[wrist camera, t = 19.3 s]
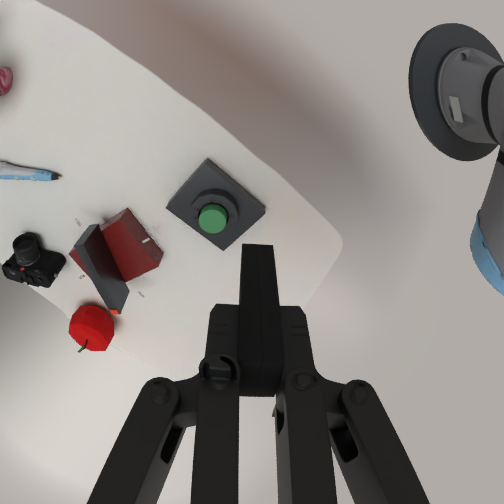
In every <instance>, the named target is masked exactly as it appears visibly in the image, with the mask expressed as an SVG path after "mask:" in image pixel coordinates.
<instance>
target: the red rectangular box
mask: <svg viewBox="0 0 504 504" xmlns="http://www.w3.org/2000/svg"><path fill="white" fill-rule="evenodd" d="M75 221H76V222H77V223H78V225H79V226H81V224H80V222H79V221H78V220H77V219H75ZM100 229H101V231H102V234H103V236H104V238H105V240H106V243H107V245H108V247H109V249H110V252H111V254H112V256H113V258H114V260H115V262H116V265H117V267H118V269H119V271H120V273H121V275H122V277H123V279H124V281H125V282H127V281H129V280H131V279H133V278H136V277H138V276H140V275H142V274H144V273H146V272H148V271H150V270H152V269H155V268H157V267H159V264H160V261H161V259H162V256H163V252H162V251H161V250H160V249H159V247H158V246H157V245H156V244H155V242H154V241H153V240H152V239H151V237H150V236H149V235H148V234H147V232H146V231H145V230H144V228H143V227H142V226H141V225H140V223H139V222H138V221H137V219H136V218H135V217H134V215H133V214H132V213H131V212H130V210H129V209H128V208H126V209H125V210H123V211H122V212H120V213H119V214H117V215H116V216H114V217H113V218H111V219H110V220H108V221H107V222H105V223H104V224H102V225H101V226H100ZM69 255H70V256H71V257H72V259H73V260H74V261H75V262H76V263H77V264H78V265H79V266H80V267H81V269H82V270H83V271H84V272H85V273H86V274H87V275H88V276H89V274H88V272H87V270H86V268H85V267H84V265H83V263H82V261H81V259H80V257H79V255H78V253H77V251H76V249H75V247H73V249H72V250H71V251H70V253H69ZM83 277H85V276H84V275H82V276H81V277H79V278H80V279H81V278H83ZM89 277H90V276H89ZM138 293H139V294H140V295H141V296H142V297H144V295H143V294H142V293H141V292H140V291H138Z"/></svg>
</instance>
